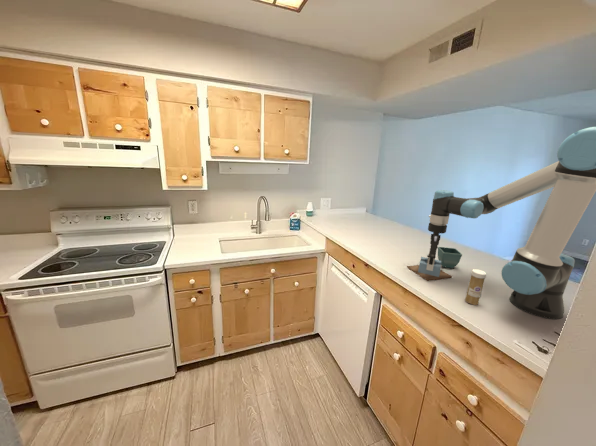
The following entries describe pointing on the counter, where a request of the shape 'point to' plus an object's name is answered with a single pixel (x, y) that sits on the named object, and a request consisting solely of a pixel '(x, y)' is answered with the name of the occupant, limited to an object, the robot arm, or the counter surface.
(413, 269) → the post base
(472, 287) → the sprinkles bottle
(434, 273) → the blue notched block
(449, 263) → the flower pot
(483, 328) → the counter surface
